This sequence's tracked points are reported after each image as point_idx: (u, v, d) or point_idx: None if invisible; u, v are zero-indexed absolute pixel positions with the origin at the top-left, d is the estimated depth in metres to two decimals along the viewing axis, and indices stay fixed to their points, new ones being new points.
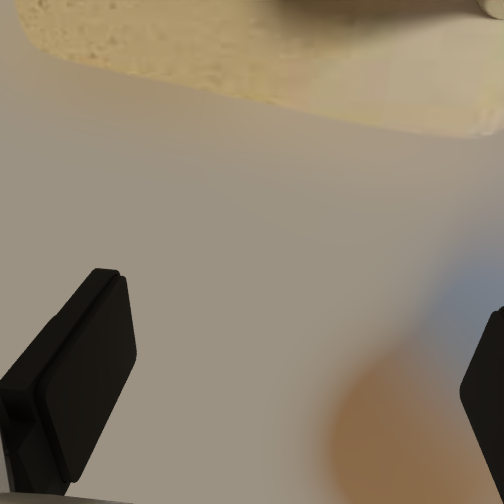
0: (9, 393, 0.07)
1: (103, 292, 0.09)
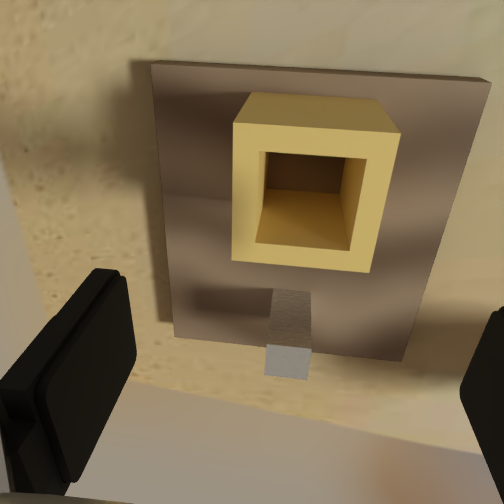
0: (9, 393, 0.07)
1: (103, 292, 0.09)
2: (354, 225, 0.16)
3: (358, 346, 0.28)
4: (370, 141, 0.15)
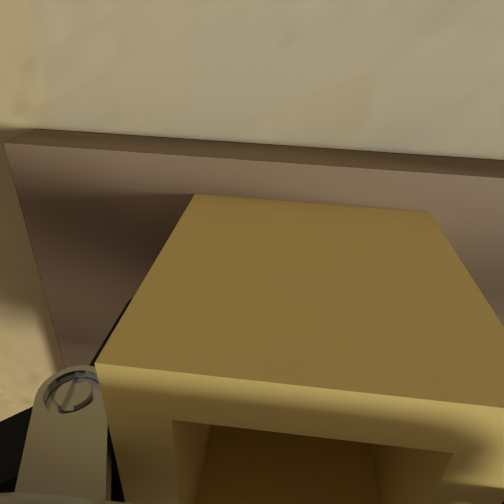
0: None
1: None
2: None
3: None
4: (467, 422, 0.05)
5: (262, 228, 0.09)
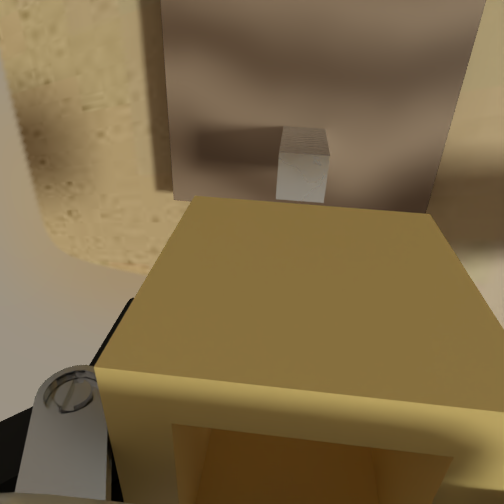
0: None
1: None
2: None
3: (376, 201, 0.25)
4: (467, 427, 0.05)
5: (262, 230, 0.09)
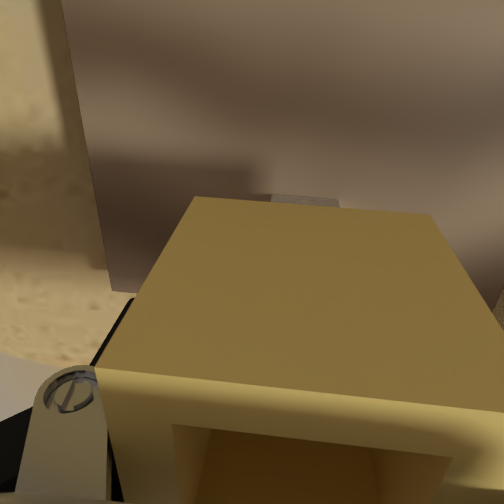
0: None
1: None
2: None
3: None
4: (466, 427, 0.05)
5: (262, 231, 0.09)
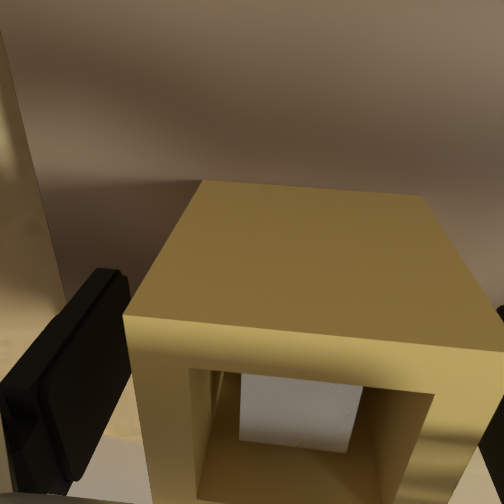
0: (12, 392, 0.07)
1: (105, 291, 0.09)
2: (397, 489, 0.08)
3: None
4: (445, 365, 0.06)
5: (266, 209, 0.10)
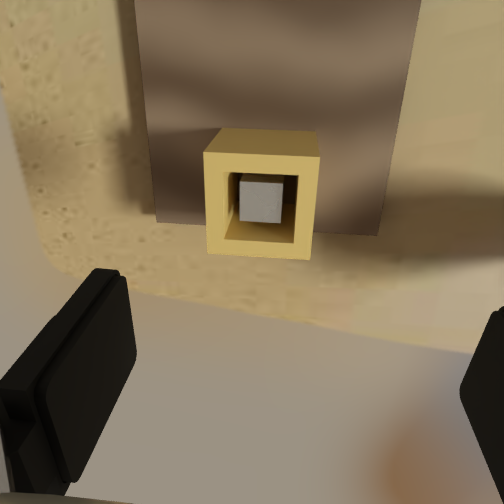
0: (9, 393, 0.07)
1: (103, 292, 0.09)
2: (295, 223, 0.22)
3: (334, 220, 0.29)
4: (299, 163, 0.21)
5: (249, 134, 0.25)
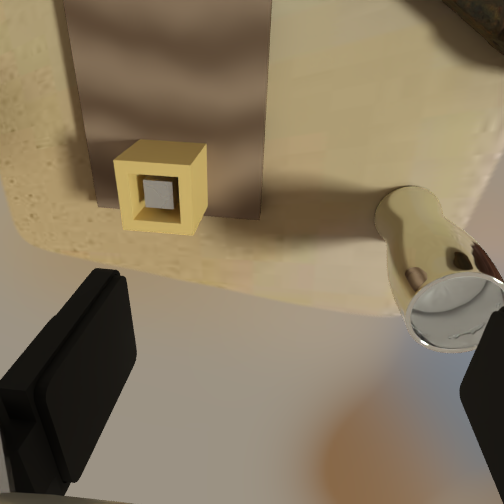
0: (9, 393, 0.07)
1: (103, 292, 0.09)
2: (180, 210, 0.33)
3: (227, 208, 0.39)
4: (177, 169, 0.31)
5: (155, 145, 0.35)
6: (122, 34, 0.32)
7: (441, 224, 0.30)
